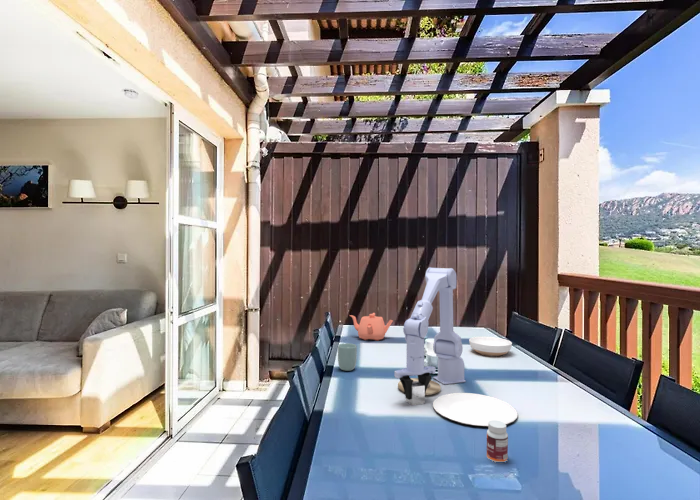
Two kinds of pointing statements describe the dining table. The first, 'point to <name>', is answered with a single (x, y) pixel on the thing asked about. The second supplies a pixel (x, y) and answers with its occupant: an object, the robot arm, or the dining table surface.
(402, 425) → the dining table surface
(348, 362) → the cup
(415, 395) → the grey block
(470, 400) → the plate
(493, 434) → the pill bottle
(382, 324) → the teapot
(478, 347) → the bowl
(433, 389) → the turntable
